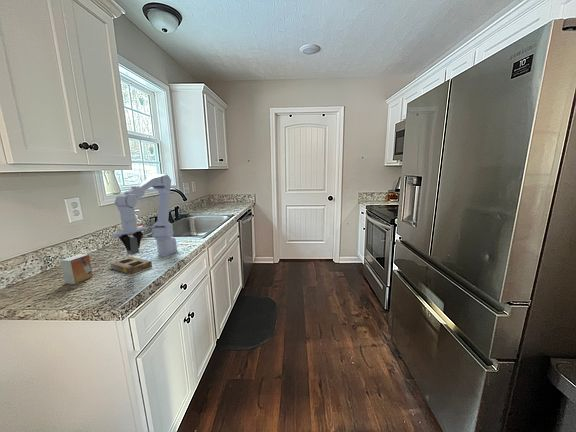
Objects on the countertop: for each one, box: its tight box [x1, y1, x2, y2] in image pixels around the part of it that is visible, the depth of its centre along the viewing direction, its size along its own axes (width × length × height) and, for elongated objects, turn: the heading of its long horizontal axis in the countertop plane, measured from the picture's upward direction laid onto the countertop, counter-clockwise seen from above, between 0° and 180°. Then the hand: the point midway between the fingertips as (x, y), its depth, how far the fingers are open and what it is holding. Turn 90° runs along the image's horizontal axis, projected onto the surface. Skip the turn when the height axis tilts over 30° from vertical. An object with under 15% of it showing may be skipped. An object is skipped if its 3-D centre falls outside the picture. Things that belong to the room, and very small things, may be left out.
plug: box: [126, 235, 140, 256], centre depth 114 cm, size 4×4×8 cm
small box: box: [59, 253, 94, 285], centre depth 105 cm, size 8×6×10 cm
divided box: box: [110, 256, 153, 276], centre depth 116 cm, size 10×16×3 cm, turn 62°
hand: (133, 249), depth 114 cm, fingers closed on plug, 3 cm apart
